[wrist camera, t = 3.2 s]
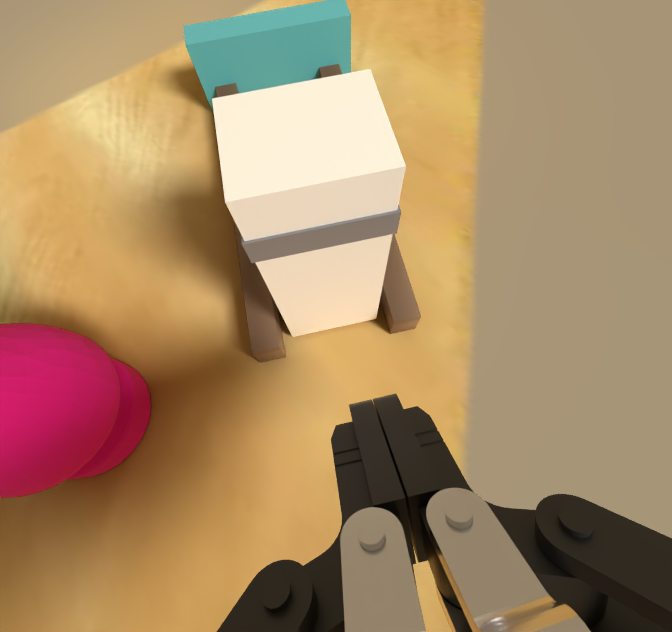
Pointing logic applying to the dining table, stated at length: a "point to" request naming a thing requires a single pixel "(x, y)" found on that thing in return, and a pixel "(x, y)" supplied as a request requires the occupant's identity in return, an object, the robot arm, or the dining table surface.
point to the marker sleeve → (313, 194)
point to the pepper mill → (63, 408)
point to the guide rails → (265, 311)
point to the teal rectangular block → (270, 46)
